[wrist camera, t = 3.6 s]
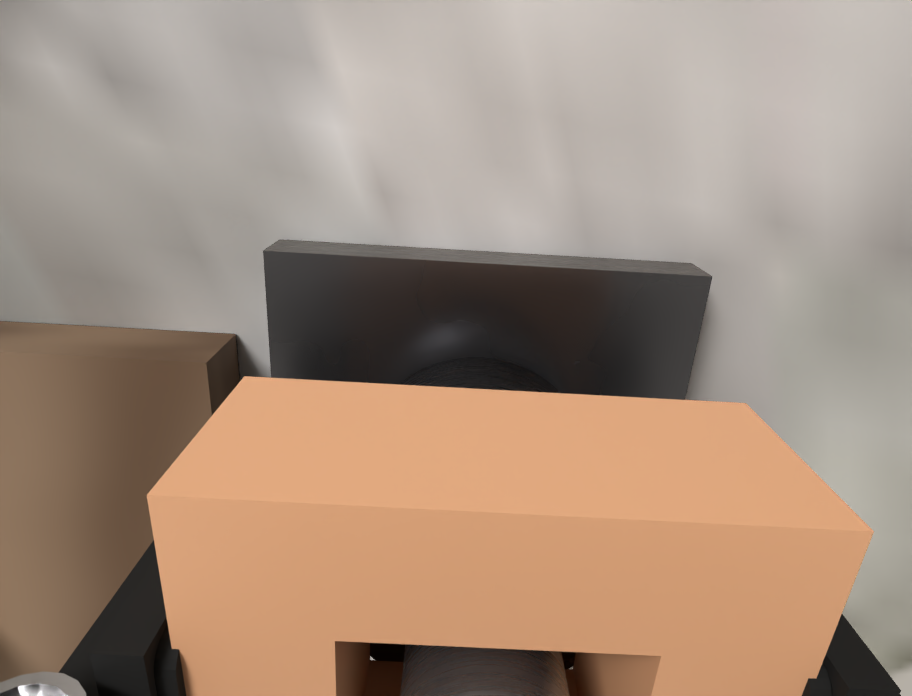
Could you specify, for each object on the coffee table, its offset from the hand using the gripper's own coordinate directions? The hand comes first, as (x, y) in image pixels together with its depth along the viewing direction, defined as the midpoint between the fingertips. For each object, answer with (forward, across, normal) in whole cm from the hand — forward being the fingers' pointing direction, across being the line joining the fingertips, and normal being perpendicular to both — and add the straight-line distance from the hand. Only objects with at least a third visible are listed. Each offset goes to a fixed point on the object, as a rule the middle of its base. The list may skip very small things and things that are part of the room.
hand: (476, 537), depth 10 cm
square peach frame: (-1, 0, 0) cm, 1 cm away
